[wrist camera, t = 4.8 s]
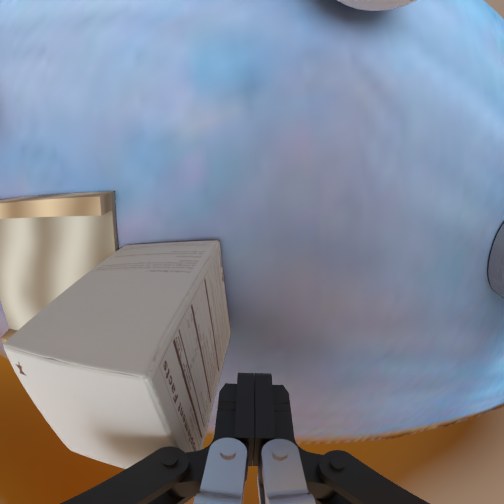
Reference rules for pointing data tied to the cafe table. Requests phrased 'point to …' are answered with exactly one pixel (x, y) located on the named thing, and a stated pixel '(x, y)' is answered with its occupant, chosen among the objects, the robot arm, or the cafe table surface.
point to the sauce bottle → (376, 4)
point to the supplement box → (130, 352)
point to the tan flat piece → (50, 248)
